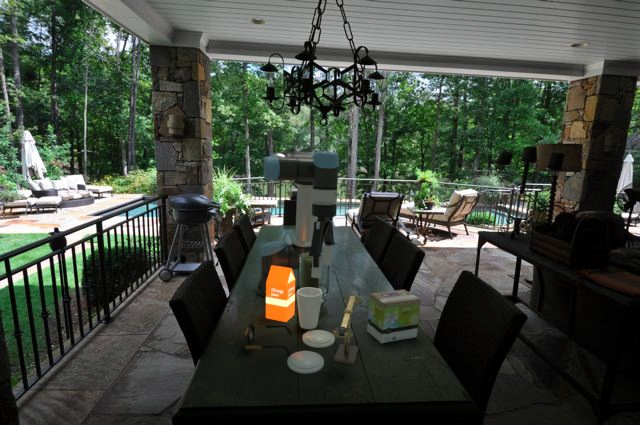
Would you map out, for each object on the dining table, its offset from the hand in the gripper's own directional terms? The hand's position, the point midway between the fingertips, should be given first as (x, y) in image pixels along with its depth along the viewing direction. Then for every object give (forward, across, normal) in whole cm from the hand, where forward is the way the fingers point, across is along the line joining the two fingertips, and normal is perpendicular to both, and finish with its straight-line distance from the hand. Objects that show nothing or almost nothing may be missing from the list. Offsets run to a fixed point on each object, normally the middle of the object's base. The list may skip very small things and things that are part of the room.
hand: (321, 270), depth 113 cm
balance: (+27, 0, -9) cm, 28 cm away
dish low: (+27, -8, +2) cm, 28 cm away
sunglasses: (+27, -1, +17) cm, 32 cm away
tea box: (+27, +19, -22) cm, 40 cm away
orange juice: (+27, +20, +21) cm, 40 cm away
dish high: (+27, +7, +2) cm, 28 cm away
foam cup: (+27, +16, +8) cm, 32 cm away
